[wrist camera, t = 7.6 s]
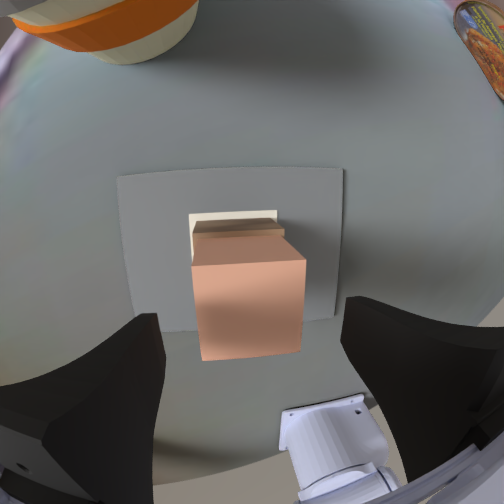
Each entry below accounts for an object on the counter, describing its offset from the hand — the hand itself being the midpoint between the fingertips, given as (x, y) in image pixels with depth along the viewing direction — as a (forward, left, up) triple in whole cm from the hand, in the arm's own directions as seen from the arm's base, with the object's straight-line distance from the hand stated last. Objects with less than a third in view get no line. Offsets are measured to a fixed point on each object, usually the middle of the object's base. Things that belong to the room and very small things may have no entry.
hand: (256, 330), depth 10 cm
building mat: (0, 0, -10) cm, 10 cm away
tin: (-30, -23, -11) cm, 39 cm away
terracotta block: (0, 0, -6) cm, 6 cm away
